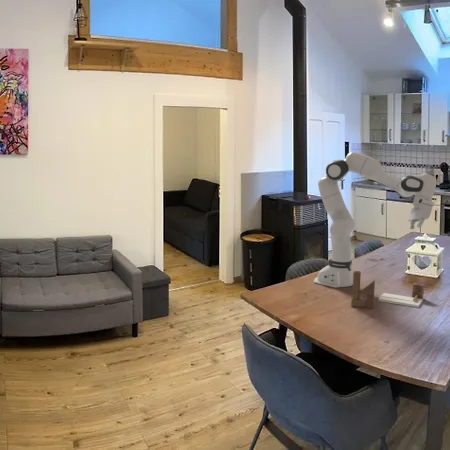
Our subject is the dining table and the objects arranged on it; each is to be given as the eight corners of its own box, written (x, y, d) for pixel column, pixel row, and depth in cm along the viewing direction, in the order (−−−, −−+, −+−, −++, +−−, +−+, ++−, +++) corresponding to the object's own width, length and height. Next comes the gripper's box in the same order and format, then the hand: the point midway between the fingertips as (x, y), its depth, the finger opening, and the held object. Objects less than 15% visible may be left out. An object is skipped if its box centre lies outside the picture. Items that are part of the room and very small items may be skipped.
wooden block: (372, 309, 257) (374, 274, 254) (351, 306, 262) (352, 272, 258) (373, 306, 261) (375, 272, 257) (352, 304, 265) (353, 270, 262)
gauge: (408, 303, 265) (409, 288, 264) (413, 297, 275) (414, 282, 273) (419, 305, 263) (420, 290, 261) (423, 298, 272) (424, 284, 271)
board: (378, 301, 269) (378, 298, 269) (383, 295, 278) (383, 292, 278) (418, 307, 259) (418, 305, 259) (422, 301, 268) (422, 298, 268)
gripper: (408, 204, 284) (402, 228, 282) (424, 199, 263) (417, 224, 262) (419, 208, 284) (413, 231, 282) (436, 202, 263) (429, 228, 262)
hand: (415, 228), depth 272 cm, fingers open, 8 cm apart
